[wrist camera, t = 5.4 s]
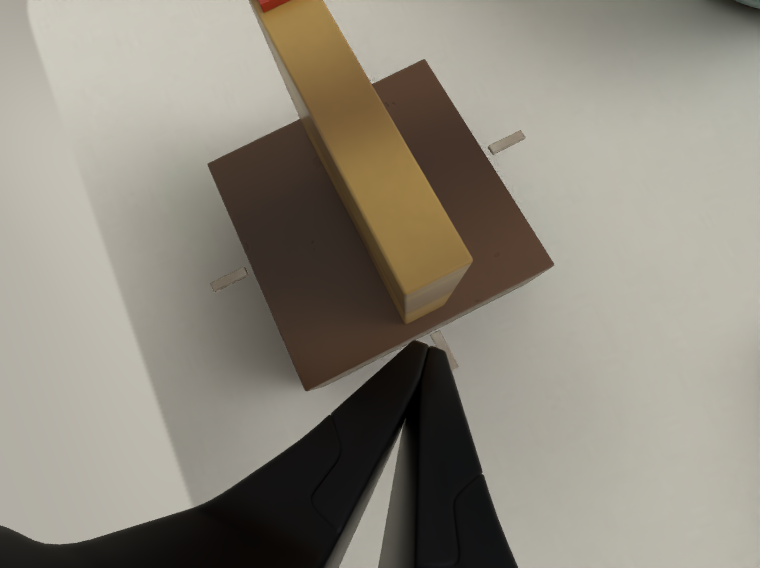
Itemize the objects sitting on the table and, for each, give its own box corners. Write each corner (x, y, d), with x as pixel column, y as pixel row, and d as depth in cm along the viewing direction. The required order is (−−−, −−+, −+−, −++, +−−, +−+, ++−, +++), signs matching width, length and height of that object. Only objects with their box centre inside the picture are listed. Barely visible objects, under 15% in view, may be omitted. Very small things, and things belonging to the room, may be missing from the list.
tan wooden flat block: (445, 305, 13) (477, 257, 7) (405, 325, 13) (404, 293, 7) (339, 110, 15) (295, -56, 9) (303, 127, 15) (236, -28, 9)
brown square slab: (581, 297, 16) (622, 282, 13) (304, 440, 16) (280, 458, 13) (435, 67, 19) (441, 10, 16) (196, 183, 19) (155, 147, 16)
